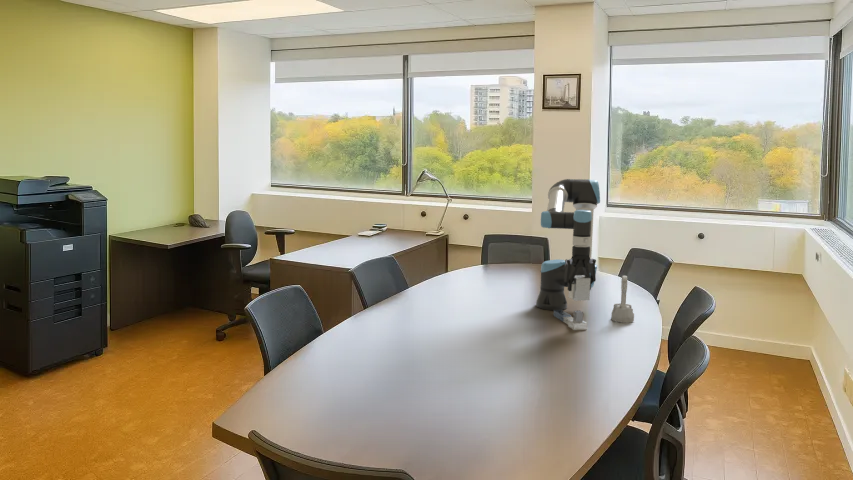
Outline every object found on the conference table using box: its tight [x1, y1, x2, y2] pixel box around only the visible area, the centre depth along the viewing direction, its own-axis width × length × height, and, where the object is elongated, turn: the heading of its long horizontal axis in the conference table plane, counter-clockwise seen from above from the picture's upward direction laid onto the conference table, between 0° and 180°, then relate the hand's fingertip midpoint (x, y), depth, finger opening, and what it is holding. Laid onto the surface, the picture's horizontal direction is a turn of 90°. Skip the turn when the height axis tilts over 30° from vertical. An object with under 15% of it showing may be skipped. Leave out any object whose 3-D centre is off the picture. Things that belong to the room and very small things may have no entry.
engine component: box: [610, 275, 635, 324], centre depth 303 cm, size 11×20×10 cm
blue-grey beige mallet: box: [553, 309, 588, 331], centre depth 298 cm, size 24×6×8 cm, turn 13°
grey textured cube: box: [572, 275, 591, 302], centre depth 286 cm, size 7×7×10 cm
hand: (578, 297), depth 287 cm, fingers closed on grey textured cube, 7 cm apart
